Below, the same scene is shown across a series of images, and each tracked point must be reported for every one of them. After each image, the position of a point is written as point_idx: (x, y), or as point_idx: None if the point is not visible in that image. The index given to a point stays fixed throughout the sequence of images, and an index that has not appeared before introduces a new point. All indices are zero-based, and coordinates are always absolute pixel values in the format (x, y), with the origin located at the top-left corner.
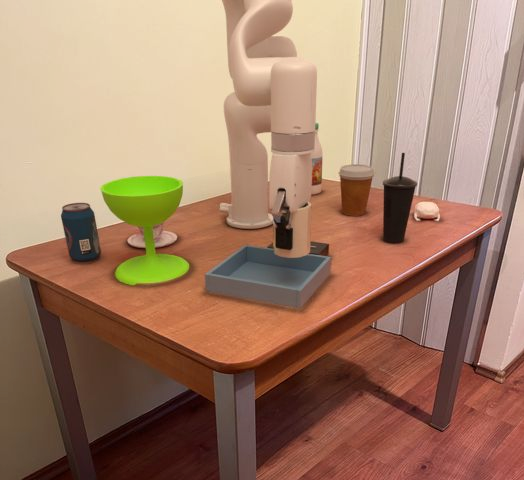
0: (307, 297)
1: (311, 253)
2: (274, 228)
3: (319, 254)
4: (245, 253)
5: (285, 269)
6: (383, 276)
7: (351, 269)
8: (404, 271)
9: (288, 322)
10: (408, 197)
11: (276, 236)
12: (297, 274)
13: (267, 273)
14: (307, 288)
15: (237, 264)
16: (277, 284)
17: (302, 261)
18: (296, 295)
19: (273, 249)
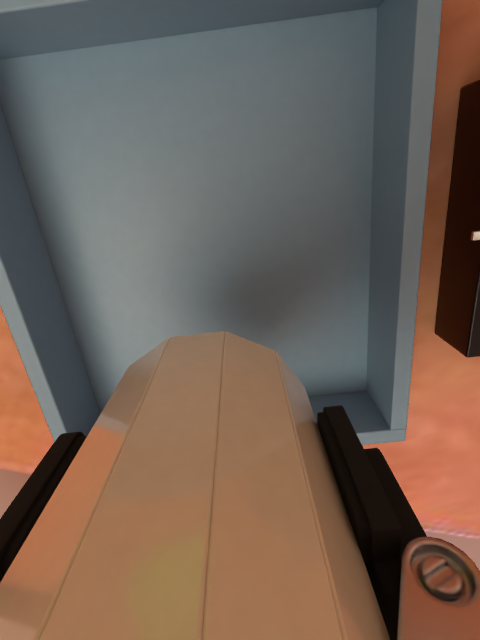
0: None
1: (470, 327)
2: (59, 485)
3: (472, 355)
4: None
5: (349, 248)
6: (423, 506)
7: (450, 425)
8: (476, 534)
9: (22, 424)
10: None
11: (25, 495)
12: (321, 312)
13: (280, 200)
14: None
15: (266, 11)
16: (202, 292)
17: (382, 322)
18: None
19: (160, 345)
